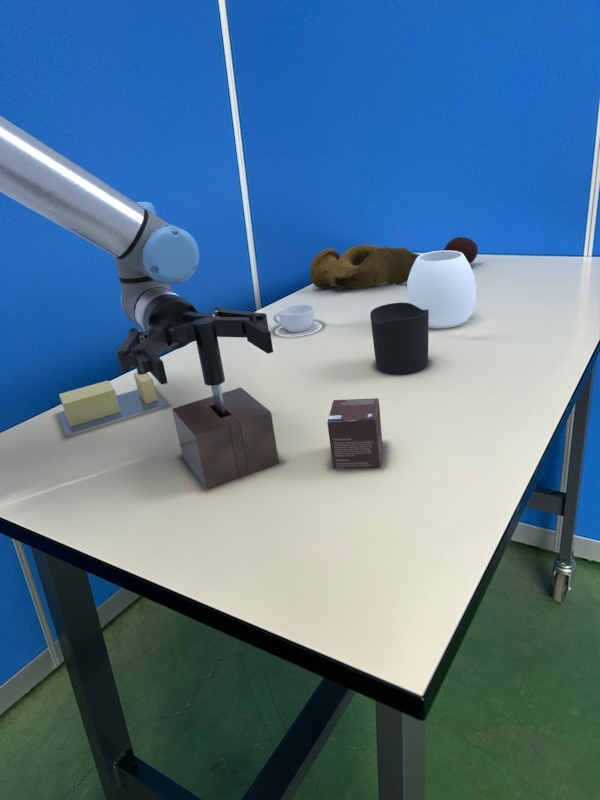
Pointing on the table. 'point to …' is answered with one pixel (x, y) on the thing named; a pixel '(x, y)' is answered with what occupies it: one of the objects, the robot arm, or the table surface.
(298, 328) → the teacup
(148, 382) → the butter slice
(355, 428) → the box
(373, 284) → the brown looped sculpture
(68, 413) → the butter stick
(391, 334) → the pen holder
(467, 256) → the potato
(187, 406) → the knife block
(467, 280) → the white vase
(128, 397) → the butter dish
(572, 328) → the table surface
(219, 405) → the knife
